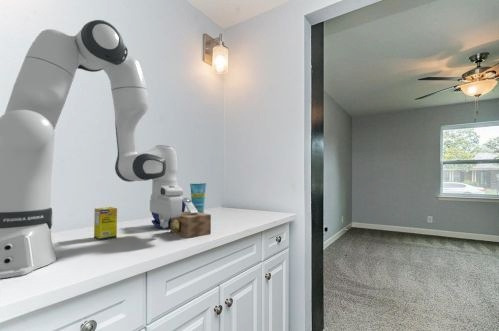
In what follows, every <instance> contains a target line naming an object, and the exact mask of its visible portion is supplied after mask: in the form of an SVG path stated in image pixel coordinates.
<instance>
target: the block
mask: <svg viewBox="0 0 499 331" xmlns="http://www.w3.org/2000/svg"><path fill="white" fill-rule="evenodd" d="M173 220H179V222H181V228H180V231H179V232H174V231H173V229H172V222H173ZM211 220H212V215H211V213H210V214H209V213H205V212H204V213H200V212H198V214H190V212H189V211H184V212H182V213H181V215H180V217H175V218H171V228H170V233H172V234H175V235H177V236H180V237H183V238H186V239H191V238H196V237H202V236H207V235H208V236H209V235H211V233H212V232H211V228H212V221H211Z"/></svg>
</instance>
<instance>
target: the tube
mask: <svg viewBox="0 0 499 331" xmlns="http://www.w3.org/2000/svg"><path fill="white" fill-rule="evenodd" d="M189 185H190V200H191V201H192V203H193V205H194V206H195V208H196V209H197V211H198V212H200V213H205V199H206V198H205V197H206V190H207V189H206V187H207V183H206V182H205V183H204V182H202V183H201V182H200V183H190V184H189Z"/></svg>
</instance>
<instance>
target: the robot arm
mask: <svg viewBox="0 0 499 331" xmlns="http://www.w3.org/2000/svg"><path fill="white" fill-rule="evenodd" d="M30 45H31V46H30V47H29V48H28V50H27V53H26V55H25V56H24V59H23V62H22V65H21V67H20V70H19V72H18V74H17V76H16V79H15V82H14V84H13V87H12V91H11V93H10V95H9V96H10V97H9V100H8V102H7V105H6V109H5V111H4V114H3V115H1V116H0V279H5V278H6V279H7V278H12V277H13V278H14V277H18V276H24V275H26V274H30V273H32V272H33V271H35V270H37V269H39V268H43V267H45V266H47V265H48V266H49V265H50V264H52V263H54V262H56V260H57V256H56V253H55V249H54V246H53V239H52V233H51V232H52V231H51V230H52V226H53V216H54V215H53V214H54V213H53V208H52V207H51V194H52V193H51V191H52V189H51V188H52V185H51V184H52V183H51V182H52V171H53V164H54V163H53V161H54V149H55V148H54V147H55V129H56V126H57V124H58V121H59V119H60V116H61V114H62V111H63V109H64V108H65V107H64V106H65V103H66V101H67V98H68V95H69V93H70V91H71V86H72V83H73V82H74V78H75V77H76V76H75V75H76V72H77V70H83V71H86V72H91V73H92V72H93V73H95V72H101V71H104V72H105V74H106V75H107V77H108V80H109V82H110V83H109V84H110V89H111V95H112V104H113V109H114V126H115V137H116V147H117V156H116V160H115V164H114V171H115V174H116V175H117V177H118V178H119V179H121V180H122V181H124V182H127V183H130V182H131V183H132V182H143V181H151V180H152V182H151V185H152V186H151V191H152V192H151V195H150V199H149V212H150V213H151V212H153V213H157V214H159V220H160V226H161V227H164V228H163V229H167V228H166V227H168V222H169V219H170V217H171V218H175V217H180V215H181V213H182V200H183V197H182V196H183V195H184V189H183V188H182V187H181V186H180V185H178V177H177V173H178V168H179V166H178V155H177V151H176V149H175V148H174V147H173V146H168V145H164V144H158V145H155V146H154V147H152V148H151V149H149V150H146V151H143V152H139V153H138V151H137V141H136V129H137V126H138V123H139V122H140V121H141V119H142V118H143V117H144V116H145V115H146V113H147V111H148V110H149V102H150V100H149V92H148V87H147V81H146V78H145V75H144V71H143V69H142V66H141V64H140V62H139V60H137V59H136V58H134V57H132V56H128V54H129V53H128V47H127V46H126V45H125V43H124V40H123V38H122V36H121V33H120V32H119V31H118V30H117V28H116V27H115V26H114V25H112V24H111V23H110V22H107V21H105V20H102V19H94V20H90V21H89V22H86V23H85V24H84V25H83V27H82V28H81V29H80V30H79V31H78V32H77V33H76V35H69V34H66V33H65V32H62V31H60V30H56V29H44V30H42V31H41V32H40V33H39V34H38V35H37V36H36V37H35V39H34V41H33V42H32V43H31V44H30Z"/></svg>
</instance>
